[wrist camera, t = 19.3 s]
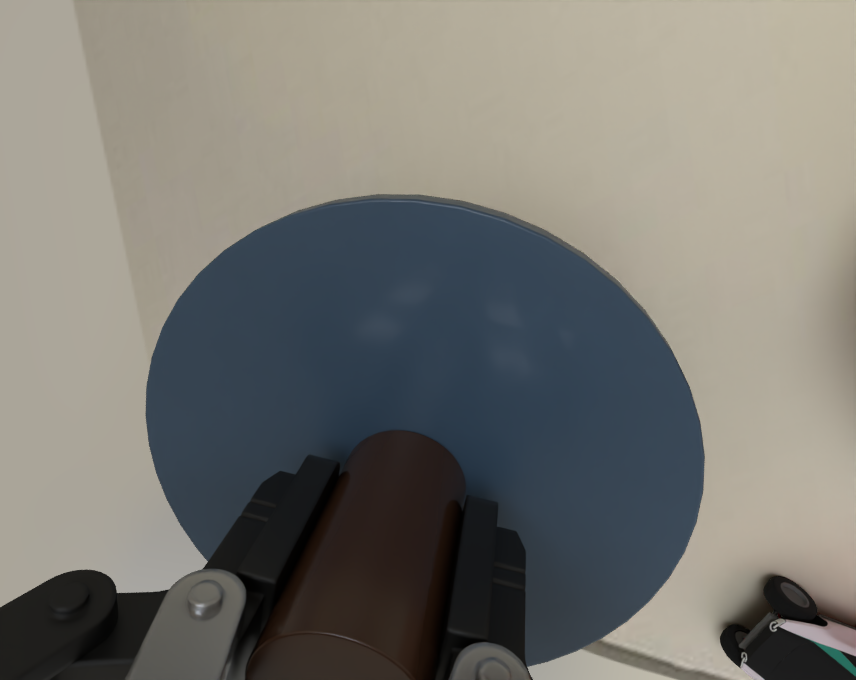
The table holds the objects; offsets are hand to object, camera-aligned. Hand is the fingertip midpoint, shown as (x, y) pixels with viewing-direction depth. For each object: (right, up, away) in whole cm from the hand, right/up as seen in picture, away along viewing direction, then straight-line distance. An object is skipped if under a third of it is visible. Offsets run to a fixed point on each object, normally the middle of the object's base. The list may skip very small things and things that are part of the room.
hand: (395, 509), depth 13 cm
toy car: (+27, -15, +24) cm, 39 cm away
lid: (0, +1, +1) cm, 2 cm away
